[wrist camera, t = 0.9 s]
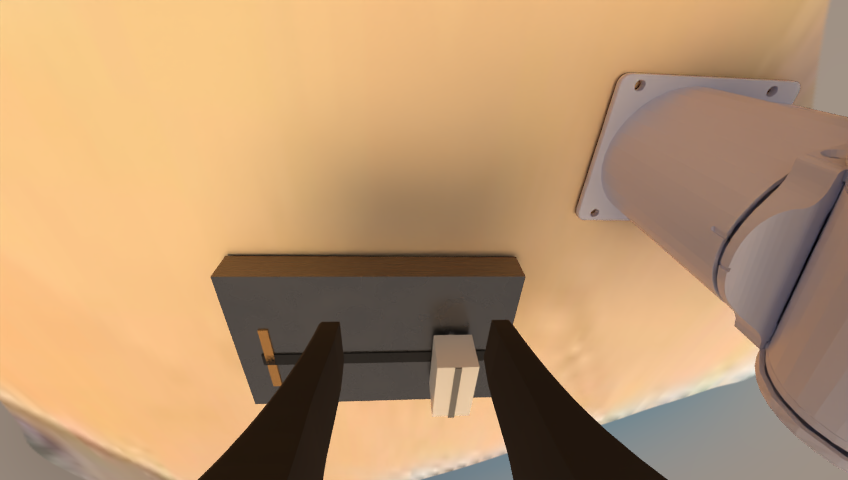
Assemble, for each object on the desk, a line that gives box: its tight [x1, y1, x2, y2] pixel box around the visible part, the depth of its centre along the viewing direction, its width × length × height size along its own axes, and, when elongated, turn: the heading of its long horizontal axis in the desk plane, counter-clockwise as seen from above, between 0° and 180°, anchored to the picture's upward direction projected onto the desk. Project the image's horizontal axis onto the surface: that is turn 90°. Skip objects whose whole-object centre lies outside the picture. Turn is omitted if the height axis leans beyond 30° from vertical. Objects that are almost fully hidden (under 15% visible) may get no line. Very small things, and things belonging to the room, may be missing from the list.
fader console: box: [211, 256, 525, 404], centre depth 24 cm, size 18×12×2 cm, turn 87°
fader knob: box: [429, 335, 479, 418], centre depth 23 cm, size 2×5×3 cm, turn 177°
